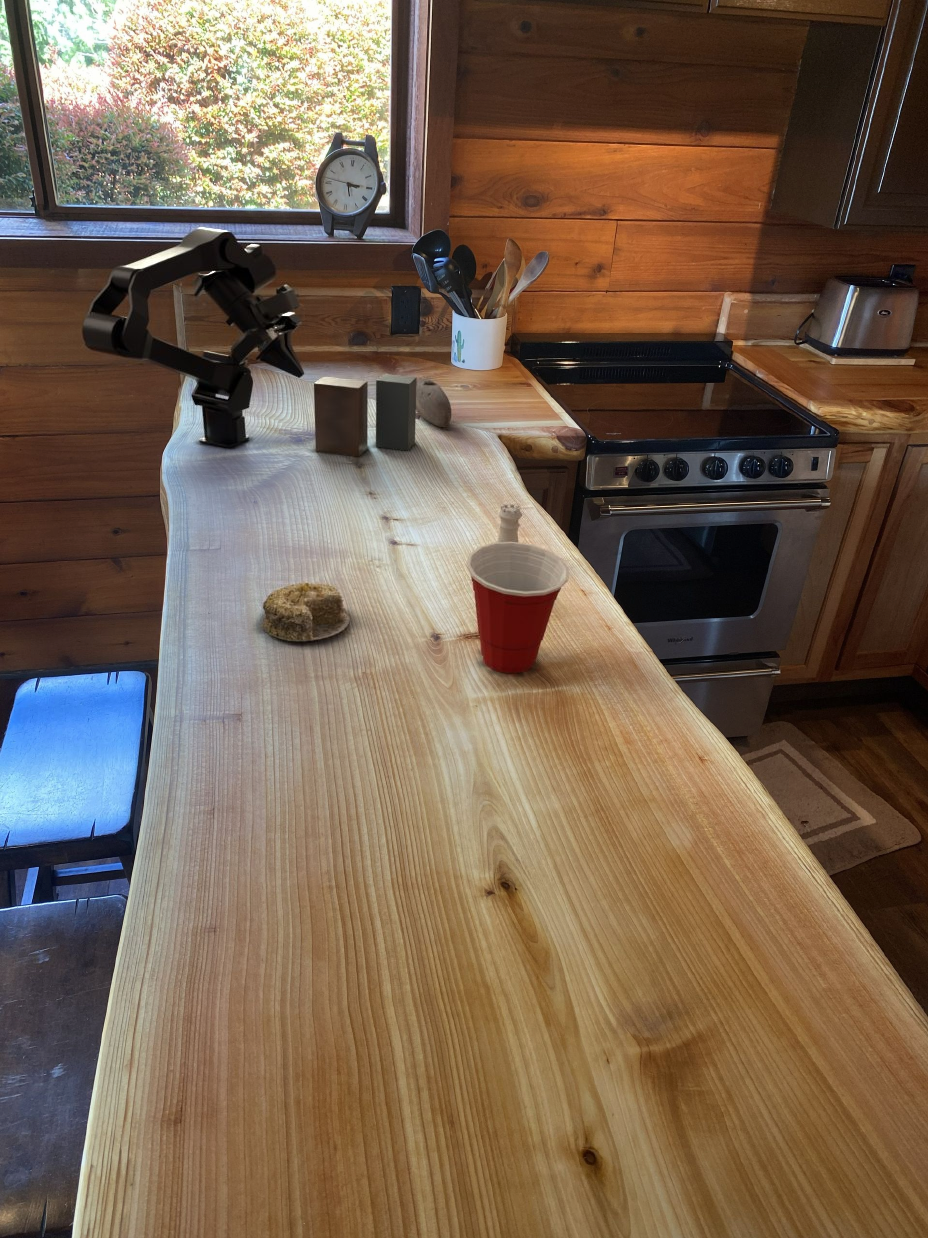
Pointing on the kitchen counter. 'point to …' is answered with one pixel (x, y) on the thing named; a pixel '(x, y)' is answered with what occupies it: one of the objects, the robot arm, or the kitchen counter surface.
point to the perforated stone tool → (432, 403)
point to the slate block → (395, 411)
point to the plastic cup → (514, 600)
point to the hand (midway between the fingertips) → (302, 375)
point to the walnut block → (341, 416)
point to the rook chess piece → (509, 523)
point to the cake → (304, 612)
